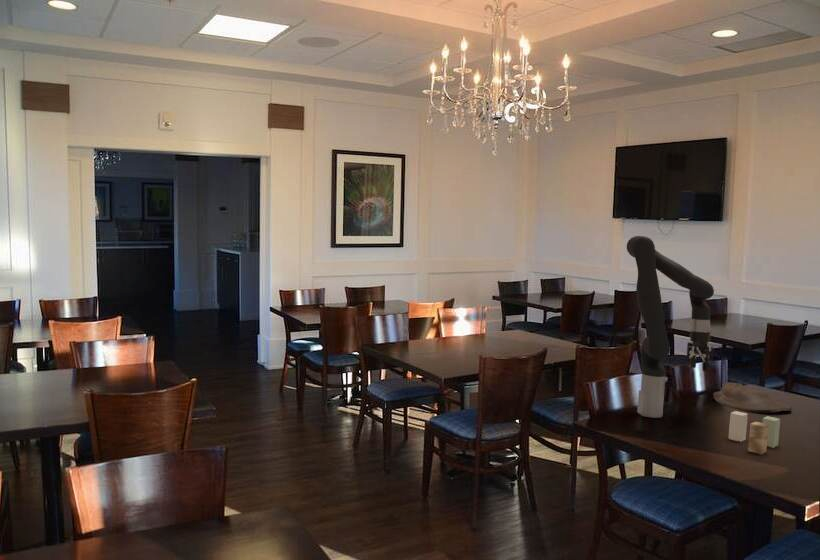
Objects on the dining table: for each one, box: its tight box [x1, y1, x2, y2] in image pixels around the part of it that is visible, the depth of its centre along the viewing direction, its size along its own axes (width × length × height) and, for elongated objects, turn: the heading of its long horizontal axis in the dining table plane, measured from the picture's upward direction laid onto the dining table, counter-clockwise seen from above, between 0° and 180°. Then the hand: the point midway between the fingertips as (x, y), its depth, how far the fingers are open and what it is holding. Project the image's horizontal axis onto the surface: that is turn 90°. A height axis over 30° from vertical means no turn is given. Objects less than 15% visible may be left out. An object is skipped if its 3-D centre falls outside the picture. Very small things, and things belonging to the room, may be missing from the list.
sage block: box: [761, 415, 781, 449], centre depth 254 cm, size 4×4×10 cm
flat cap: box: [712, 381, 792, 413], centre depth 310 cm, size 26×14×28 cm
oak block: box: [747, 421, 769, 455], centre depth 246 cm, size 4×4×10 cm
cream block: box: [728, 410, 749, 443], centre depth 259 cm, size 4×4×10 cm
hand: (699, 369), depth 285 cm, fingers open, 8 cm apart
